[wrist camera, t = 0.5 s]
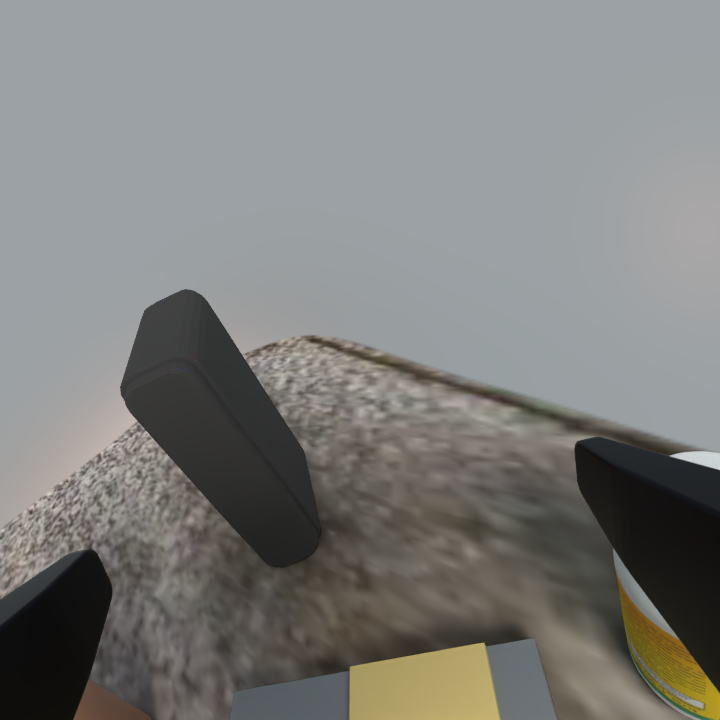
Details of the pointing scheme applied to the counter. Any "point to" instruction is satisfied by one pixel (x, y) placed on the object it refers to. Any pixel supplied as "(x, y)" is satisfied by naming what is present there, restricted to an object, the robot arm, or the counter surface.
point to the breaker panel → (415, 689)
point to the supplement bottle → (666, 640)
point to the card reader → (221, 427)
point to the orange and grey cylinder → (106, 706)
